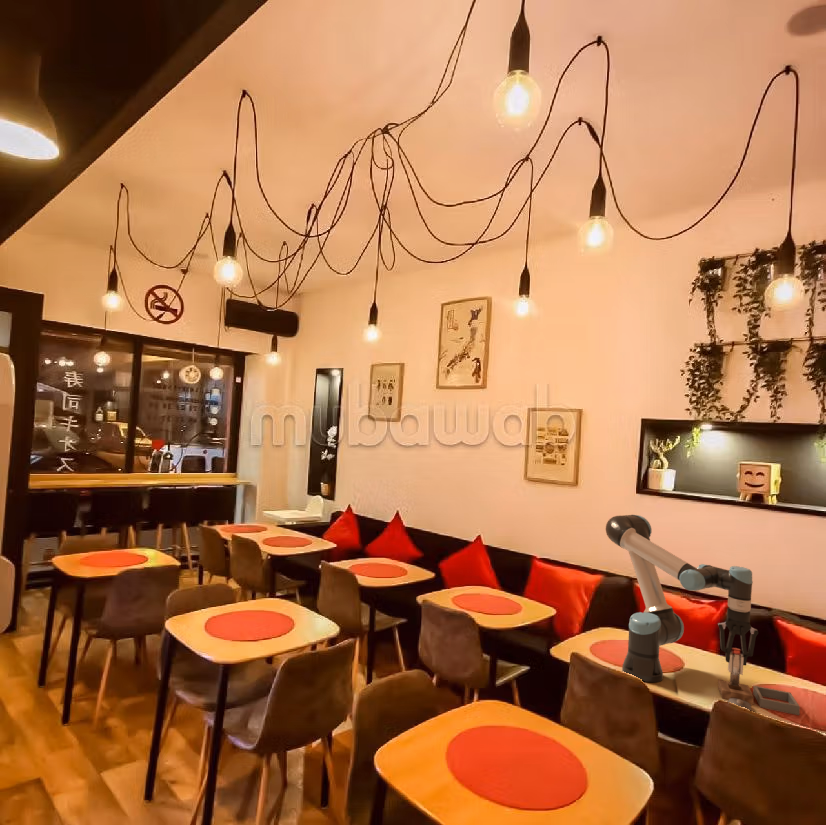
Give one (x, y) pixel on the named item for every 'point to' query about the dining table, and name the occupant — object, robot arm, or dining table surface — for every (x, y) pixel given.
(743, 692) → the tensioner block
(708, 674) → the dining table surface
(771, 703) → the tray
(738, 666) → the lock pin
